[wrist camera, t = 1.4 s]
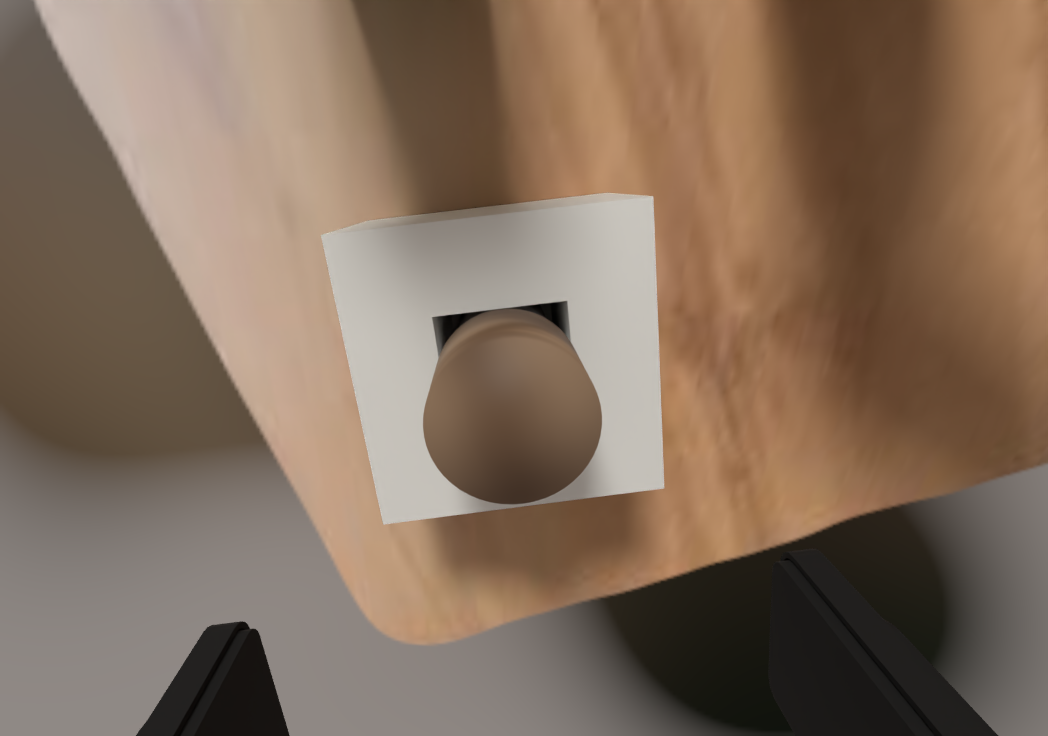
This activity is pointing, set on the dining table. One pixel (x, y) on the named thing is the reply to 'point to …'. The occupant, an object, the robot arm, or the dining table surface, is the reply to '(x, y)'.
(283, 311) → the dining table surface
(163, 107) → the dining table surface
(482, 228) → the housing
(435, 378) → the brown rounded piece
